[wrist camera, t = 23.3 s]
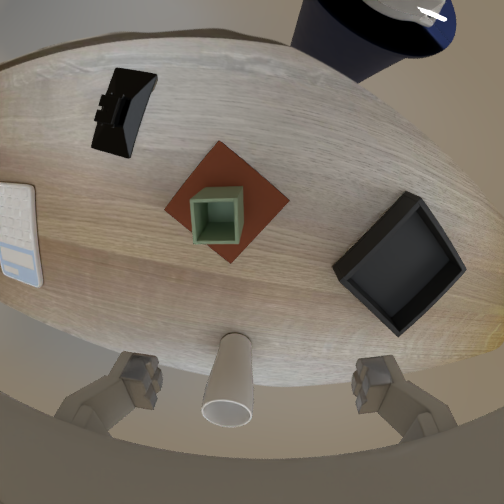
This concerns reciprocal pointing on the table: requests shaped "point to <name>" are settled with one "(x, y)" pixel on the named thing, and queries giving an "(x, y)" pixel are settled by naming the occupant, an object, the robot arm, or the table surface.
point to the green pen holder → (217, 215)
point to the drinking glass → (230, 384)
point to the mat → (223, 175)
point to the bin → (401, 264)
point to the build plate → (122, 111)
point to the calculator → (19, 234)
